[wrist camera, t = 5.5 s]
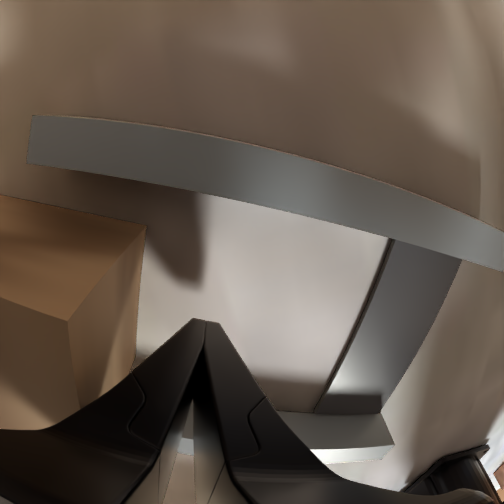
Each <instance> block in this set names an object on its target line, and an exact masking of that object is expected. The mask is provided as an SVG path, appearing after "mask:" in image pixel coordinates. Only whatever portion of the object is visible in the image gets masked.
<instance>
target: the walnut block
mask: <svg viewBox="0 0 504 504" xmlns="http://www.w3.org/2000/svg"><path fill="white" fill-rule="evenodd" d="M146 228H147V226H146V225H142V224H137V223H132V222H127V221H123V220H118V219H113V218H109V217H104V216H99V215H94V214H90V213H85V212H80V211H75V210H71V209H66V208H61V207H56V206H51V205H47V204H42V203H37V202H32V201H28V200H23V199H18V198H13V197H8V196H3V195H0V429H14V430H39V429H44V428H47V427H50V426H52V425H55V424H57V423H58V422H60V421H62V420H64V419H65V418H67V417H68V416H70V415H72V414H73V413H75V412H77V411H78V410H80V409H81V408H83V407H85V406H86V405H88V404H89V403H91V402H93V401H94V400H96V399H97V398H99V397H100V396H102V395H103V394H105V393H106V392H107V391H109V390H110V389H112V388H113V387H114V386H115V385H117V384H118V383H119V382H120V381H122V380H123V379H124V378H125V377H126V376H127V375H128V374H129V372H130V369H131V367H132V364H133V361H134V359H135V356H136V333H137V316H138V303H139V290H140V280H141V270H142V260H143V252H144V244H145V236H146Z"/></svg>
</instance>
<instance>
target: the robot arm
mask: <svg viewBox="0 0 504 504" xmlns="http://www.w3.org/2000/svg"><path fill="white" fill-rule="evenodd" d="M192 400H193V446H194V477H195V498H196V504H504V502H502V501H501V499H500V498H499V496H498V493H497V491H496V490H495V488H494V486H493V484H492V482H491V480H490V478H489V476H488V474H487V473H486V471H485V469H484V467H483V465H482V464H481V462H480V459H481V458H482V457H483V456H484V455H485V454H486V452H487V451H488V450H489V449H490V447H489V445H484V446H481V447H478V448H475V449H472V450H469V451H465V452H462V453H458V454H455V455H451V456H447V457H444V458H442V459H440V460H439V461H438V462H437V463H436V464H435V465H434V466H432V467H431V468H430V469H429V470H428V471H427V472H426V473H425V474H424V475H423V476H422V477H421V478H420V479H419V480H417V481H416V482H415V483H414V484H413V485H412V486H411V487H409V488H408V489H407V490H406V491H405V492H403V493H402V492H397V491H392V490H387V489H382V488H378V487H374V486H369V485H365V484H361V483H357V482H354V481H350V480H347V479H344V478H342V477H340V476H339V475H337V474H335V473H334V472H333V471H331V470H330V469H329V468H328V467H327V466H326V465H324V464H323V463H322V461H321V460H320V459H319V458H318V457H317V456H316V455H315V454H314V453H313V452H312V451H311V450H310V449H309V448H308V447H307V446H306V445H305V444H304V443H303V442H302V441H301V440H300V438H299V437H298V436H297V435H296V434H295V433H294V432H293V431H292V430H291V428H290V427H289V426H288V425H287V424H286V423H285V421H284V420H283V419H282V418H281V416H280V415H279V414H278V412H277V411H276V409H275V408H274V407H273V405H272V404H271V402H270V401H269V399H268V398H266V395H265V394H264V392H263V391H262V389H261V388H260V386H259V385H258V383H257V382H256V380H255V379H254V377H253V375H252V374H251V372H250V371H249V369H248V368H247V366H246V365H245V363H244V362H243V360H242V358H241V357H240V355H239V354H238V352H237V351H236V349H235V347H234V346H233V344H232V343H231V341H230V339H229V338H228V336H227V335H226V333H225V331H224V330H223V328H222V327H221V325H220V324H219V323H217V322H211V321H205V320H201V319H196V318H192V319H191V320H190V321H189V322H188V323H186V324H185V325H184V326H183V327H182V328H181V329H180V330H179V331H177V332H176V333H175V334H174V335H173V336H172V337H171V338H170V339H168V340H167V341H166V342H165V343H164V344H163V345H162V346H160V347H159V348H158V349H157V350H156V351H155V352H154V353H153V354H151V355H150V356H149V357H148V358H147V359H146V360H145V361H143V362H142V363H141V364H140V365H139V366H138V367H137V368H135V369H134V370H133V371H132V372H131V373H129V374H128V375H127V376H126V377H125V378H124V379H123V380H122V381H120V382H119V383H118V384H117V385H115V386H114V387H113V388H112V389H110V390H109V391H107V392H106V393H105V394H103V395H102V396H100V397H99V398H97V399H96V400H94V401H93V402H91V403H89V404H88V405H86V406H85V407H83V408H81V409H80V410H78V411H77V412H75V413H73V414H72V415H70V416H68V417H67V418H65V419H64V420H62V421H60V422H58V423H57V424H55V425H52V426H50V427H47V428H44V429H39V430H14V429H0V504H163V500H164V497H165V493H166V490H167V486H168V483H169V479H170V476H171V472H172V469H173V465H174V462H175V458H176V455H177V451H178V448H179V444H180V441H181V438H182V434H183V431H184V427H185V424H186V420H187V417H188V414H189V410H190V407H191V404H192Z"/></svg>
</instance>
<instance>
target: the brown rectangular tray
mask: <svg viewBox="0 0 504 504" xmlns="http://www.w3.org/2000/svg"><path fill="white" fill-rule="evenodd" d="M493 474H494V476H495V478H496V479H497V481H498V483H499V485H500V487H501V489H502V490H503V489H504V464H503V465H502V466H501V467H500V468H499V469H498V470H497V471H496V472H495V473H493Z"/></svg>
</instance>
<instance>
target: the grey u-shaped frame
mask: <svg viewBox="0 0 504 504" xmlns="http://www.w3.org/2000/svg"><path fill="white" fill-rule="evenodd" d="M27 164H35V165H42V166H49V167H56V168H63V169H70V170H77V171H83V172H89V173H96V174H102V175H108V176H114V177H120V178H126V179H131V180H137V181H142V182H148V183H153V184H159V185H164V186H169V187H174V188H180V189H185V190H190V191H195V192H200V193H205V194H209V195H214V196H219V197H224V198H228V199H233V200H238V201H242V202H247V203H251V204H256V205H260V206H265V207H269V208H273V209H278V210H282V211H286V212H291V213H295V214H299V215H303V216H307V217H311V218H315V219H319V220H323V221H327V222H331V223H335V224H339V225H343V226H347V227H351V228H355V229H358V230H362V231H366V232H370V233H373V234H377V235H381V236H384V237H388V238H392V242H391V244H390V247H389V250H388V253H387V255H386V258H385V261H384V263H383V266H382V268H381V271H380V273H379V276H378V279H377V281H376V283H375V286H374V288H373V291H372V293H371V296H370V298H369V300H368V303H367V305H366V307H365V310H364V312H363V314H362V316H361V319H360V321H359V323H358V325H357V327H356V330H355V332H354V334H353V336H352V338H351V340H350V342H349V344H348V347H347V349H346V351H345V353H344V355H343V357H342V359H341V361H340V363H339V365H338V367H337V369H336V371H335V373H334V374H333V376H332V378H331V380H330V382H329V384H328V386H327V388H326V390H325V391H324V393H323V395H322V397H321V399H320V401H319V402H318V404H317V406H316V408H315V409H314V412H315V413H299V412H284V411H277V412H278V414H279V415H280V416H281V418H282V419H283V420H284V421H285V423H286V424H287V425H288V426H289V427H290V428H291V430H292V431H293V432H294V433H295V434H296V435H297V436H298V437H299V438H300V440H301V441H302V442H303V443H304V444H305V445H306V446H307V447H308V448H309V449H310V450H311V451H312V452H313V453H314V454H315V455H316V456H317V457H318V458H319V459H320V460H321V461H322V463H323V464H333V463H350V462H362V461H372V460H381V459H383V457H384V456H385V455H386V454H387V453H388V452H389V451H390V450H391V449H392V448H393V446H394V445H395V444H394V442H393V439H392V437H391V435H390V432H389V430H388V428H387V425H386V423H385V421H384V419H383V416H382V414H378V413H379V411H380V410H381V409H382V407H383V406H384V404H385V403H386V401H387V400H388V398H389V397H390V395H391V394H392V392H393V391H394V389H395V388H396V386H397V385H398V383H399V382H400V380H401V379H402V377H403V375H404V374H405V372H406V370H407V369H408V367H409V365H410V364H411V362H412V360H413V359H414V357H415V355H416V354H417V352H418V350H419V348H420V347H421V345H422V343H423V341H424V339H425V338H426V336H427V334H428V332H429V330H430V328H431V326H432V324H433V322H434V320H435V318H436V316H437V314H438V312H439V310H440V308H441V306H442V304H443V302H444V300H445V298H446V296H447V294H448V291H449V289H450V287H451V285H452V283H453V280H454V278H455V276H456V273H457V271H458V268H459V266H460V264H461V261H462V259H463V260H466V261H469V262H472V263H476V264H479V265H482V266H485V267H488V268H491V269H494V270H497V271H500V272H503V270H504V232H503V231H501V230H499V229H497V228H495V227H493V226H491V225H489V224H487V223H485V222H483V221H481V220H479V219H477V218H474V217H472V216H470V215H468V214H465V213H463V212H461V211H458V210H456V209H454V208H451V207H449V206H446V205H444V204H441V203H439V202H437V201H434V200H432V199H429V198H426V197H424V196H421V195H419V194H416V193H413V192H411V191H408V190H405V189H403V188H400V187H397V186H394V185H392V184H389V183H386V182H383V181H380V180H377V179H374V178H371V177H368V176H365V175H362V174H359V173H356V172H353V171H350V170H347V169H343V168H340V167H337V166H334V165H330V164H327V163H323V162H320V161H316V160H313V159H309V158H306V157H302V156H299V155H295V154H291V153H287V152H283V151H279V150H275V149H271V148H267V147H263V146H259V145H255V144H251V143H246V142H242V141H237V140H233V139H228V138H223V137H218V136H213V135H208V134H203V133H198V132H192V131H187V130H181V129H175V128H169V127H163V126H156V125H149V124H142V123H135V122H127V121H119V120H110V119H101V118H91V117H79V116H59V115H33V116H32V122H31V129H30V136H29V144H28V154H27ZM177 453H181V454H186V455H192V456H194V446H193V400H192V404H191V407H190V410H189V414H188V417H187V420H186V424H185V427H184V431H183V434H182V438H181V441H180V444H179V448H178V451H177Z"/></svg>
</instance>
